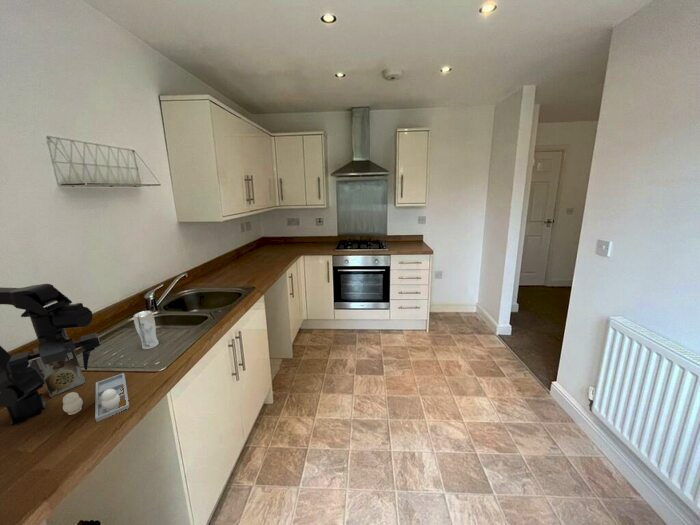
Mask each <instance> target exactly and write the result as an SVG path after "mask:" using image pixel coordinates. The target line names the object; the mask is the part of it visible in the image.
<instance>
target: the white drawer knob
mask: <svg viewBox="0 0 700 525" xmlns="http://www.w3.org/2000/svg"><path fill="white" fill-rule="evenodd" d="M101 399H102V402H101V405H102V407H103V408H105V409H106V411H107V412H110V411H112V410H115V409H117V408H118V407H119V402H120V396H119V395H118V394H117V392H116V390H114V389H107V390H105V391H104V392H103V393H102V395H101Z"/></svg>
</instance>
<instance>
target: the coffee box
mask: <svg viewBox="0 0 700 525" xmlns="http://www.w3.org/2000/svg"><path fill="white" fill-rule="evenodd" d="M68 339H70V338H69V337H68ZM38 347H39V346H38ZM38 347H35V348H33V349H32V351H33V354H34V353H37V352H39V349H38ZM67 354H68V357H67V358H66V359H64V360H58V361H55V362H52V363H50V364H43V361H42V359H38V360H35V361H36V363H37V365H38V367H39V369H40V370H42V373H43V374H44V381H45V384H44V385H45V386H46V389H47V391H48V394H49V397H50V398H52V397H55V396H56V395H59V394H62V393H64V392H67V391H69V390H71V389H73V388H76V387H78V386H81V385H83V384H85V383H86V380H85V377H84V374H83V372H82V369H81V368H82V367H81V366H80V363H79V360H78V358H77V355H76V350H74V351H71V352H70V353H67Z"/></svg>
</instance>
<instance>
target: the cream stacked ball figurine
mask: <svg viewBox="0 0 700 525" xmlns="http://www.w3.org/2000/svg"><path fill="white" fill-rule="evenodd" d="M83 402H84V401H83V399H82V398H81V397H80V396H79V393H77V392H75V391H73V392H68V393H67V394H65V395H64V396H63V397H62V403H63V405H62V410H63V411H64V412H65V413H67V415H68V416H69V415H75V414H77V413H80V411H81V410H82V409H83Z"/></svg>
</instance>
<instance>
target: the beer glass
mask: <svg viewBox="0 0 700 525" xmlns="http://www.w3.org/2000/svg"><path fill="white" fill-rule="evenodd" d="M133 322H134V327H135V330H136V331H137V335H138V336H139V338H140V340H141V348H142V349H143V350H149V349H150V350H151V349H153V348H155V347H157V346H158V345H159V344H160V343H159V342H160V341H159V340H158V338H157V334H156V329H157V328H156V321H155V316H154V314H153V310H142V311H139V312H137V313H135V314H133Z"/></svg>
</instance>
